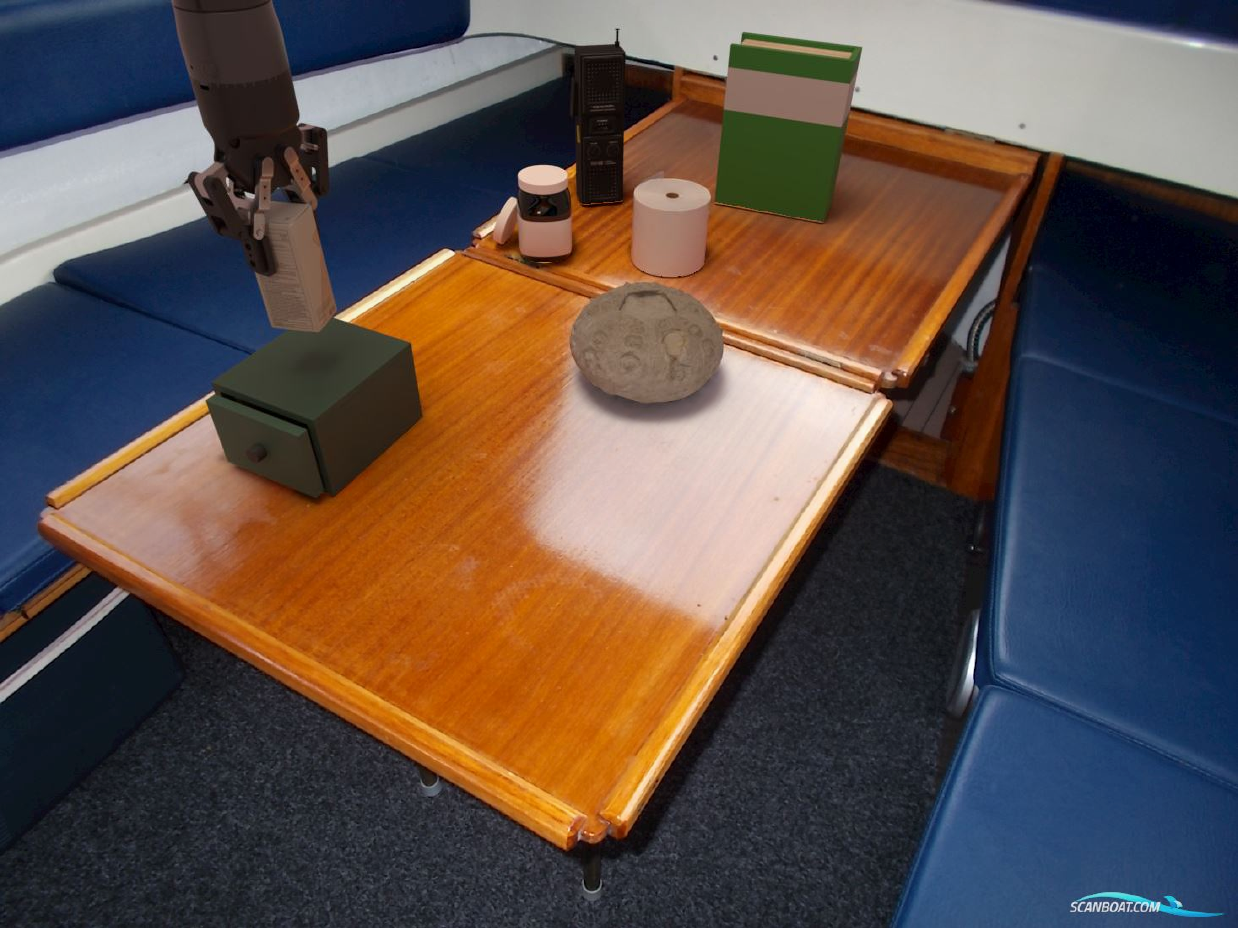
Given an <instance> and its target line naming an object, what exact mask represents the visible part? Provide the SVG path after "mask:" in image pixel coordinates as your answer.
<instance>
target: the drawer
mask: <svg viewBox="0 0 1238 928" xmlns="http://www.w3.org/2000/svg"><path fill="white" fill-rule="evenodd" d="M235 400H236V402H234V401H231V400H229V399H226V398H223V397H221V396H218V395H216V394H215V393H214V394H213V395H211V396H209V397H208V398H207V399H205V404H206V407H207V409H208V412H209V414H210V417H211V420H212V423H213V426H214V428H215V431H216V434H217V436H218V439H219V442H220V445H221V447H222V450H223V453H224V455H225V459H226V461H227V463H229V464H232V465H235V466H237V467H239V468H242V469H244V470H246V471H249V472H251V473H254V474H256V475H259V476H260V477H264V478H266V479H268V480H271V481H273V482H275V483H278V484H280V485H283V486H285V487H287V488H290V489H292V490H295V491H297V492H299V493H302V494H305V495H307V496H309V497H312V498H314V499H317V498H318V497H319V496H321V494H323V492H324V489H323V485H322V481H321V478H320V475H322V474H321V470H320V466H319V463H318V459H317V456H316V452H315V448H314V445H313V441H312V437H311V434H310V430H309V427H308V425H307V424H304V423H301V422H299V421H296V420H294V419H291V418H288V417H286V416H283V415H280V414H278V413H275V412H273V411H270V410H267V409H265V408H262V407H259V406H257V405H254V404H251V403H249V402H246V401H244V400H241V399H238V398H236V397H235Z"/></svg>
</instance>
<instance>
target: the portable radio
mask: <svg viewBox="0 0 1238 928" xmlns="http://www.w3.org/2000/svg"><path fill="white" fill-rule="evenodd" d="M614 30H615V33H616V34H615V41H614V43H609V44H607V43H606V44H588V45H575V46H574V58H573V59H574V60H573V61H574V64H573V65H574V76H571V81H570V82H571V83H570V102H569V103H570V104H569V105H570V106H569V116H570V117H571V119H572V120H574V121H575V125H574V126H575V188H576V189H575V191H576V193H577V194H576V193H575V194H576V197H577V196H578V197H577V199H578V198H579V199H580V201H581V203H582V204H591V203H603V202H615V201H621V200H623V201H624V155H625V154H624V153H625V152H624V149H625V148H624V147H625V145H624V144H625V103H626V101H625V100H626V99H625V98H626V68H627V67H626V63H627V62H626V61H627V54H626V53H627V52H626V51H625V49H624V48H623V47H622V46H621V44H620V43H621V42H620V41H619V31H620V30H621V29H620V28H614ZM574 118H575V119H574ZM579 199H578V200H579ZM580 201H579V202H580ZM581 203H580V204H581Z"/></svg>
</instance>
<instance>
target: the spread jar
mask: <svg viewBox="0 0 1238 928" xmlns="http://www.w3.org/2000/svg"><path fill="white" fill-rule="evenodd" d="M568 176H569V175H568V171H566V170H564V169H563V168H562V167H559V166H555V165H551V164H550V165H548V164H538V165H531V166H528V167H525V168H523V169H521V170H520V171H519V172H518V174H517V180H518V181H517V182H518V189H517V191H516V197H514V196H511V197H509V198H508V200H507V201H506V202H505V204H504V205H503V207H502V208H501V211H500V212H499V215H498V217H497V219H496V221H495V225H494V228H493V233H492V240H493V242H496V243H498V244H500V245H502V244H503V245H505V244H504V242H505V241H506V240H507V239H508V238H509V239H510V238H511V236H512V234H513V232H514V231H515V229H516V226H517V238H518V248H519V252H520V255H521V256H522V257H523V259H525V260H526V261H529V262H532V261H533V262H532V263H535V262H555V263H557V262H556V261H559V262H561V261H560V260H562V261H563V259H564V260H565V259H567V258H569V257H570V256H571V254H572V251H573V250H572V249H573V224H572V223H573V218H572V217H573V216H572V215H573V207H572V198H571V192H570V189H569V187H568V186H569V177H568ZM510 235H511V236H510ZM509 239H508V240H509ZM508 240H507V241H508Z"/></svg>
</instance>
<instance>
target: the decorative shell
mask: <svg viewBox="0 0 1238 928" xmlns="http://www.w3.org/2000/svg"><path fill="white" fill-rule="evenodd" d="M723 334H724V328H723V327H721V326H720V325H718V324H717V319H715V317H714V315H713V313H712V312H711V311H709V309H708V308H707V307H705V306H704V305H703V303H702V302H701V300H699V299H697V298H696V297H694V296H692V294H690V293H687V292H686V291H684V290H681V289H677V288H675V287H672V286H667V285H665V284H660V283H658V281H656V280H655V281H654V282H650V281H642V282H641V281H637V282H634V283H633V282H632V283H630V282H629V281H625V282H624V284H623V285H619V286H616V287H615V288H612V289H609V290H608V291H606V292H602V293H600V294H599V295H597V297H593V296H592V297H591V296H590V300H589V303H587V304H586V305H585V306H584V307H583V308H582V309H581V311H580V312H579V314H578V316H577V317H576V319H575V320H574V322H573V324H572V326H571V330H570V333H569V349H570V352H571V356H572V358H573V360H574V363H575V364H576V366H577V367H578V369H579V370H580V371H581V372H582V374H583V375H584V377H585V378H586V379H587V380H588V382H590V383H591V384H592V385H594V386H595V387H597V388H598V389H600V390H601V391H603V392H605V393H606V394H608V395H616V396H618V397H622V398H625V399H628V400H631V401H634V402H637V403H640V404H647V405H648V404H653V403H668V402H671V401H672V402H673V401H678V400H683V399H684V398H685V399H686V398H687V397H689V396H691V395H692V394H694V393H695V392H697V391H699V390H700V389H701V388H702V387H703V386H704V385H705V384H706V383H707V382H708V381H709V380H710V378H712V377H713V376H714V375H715V373H716V372H717V371H718V368H719V366H720V365H721V362H722V360H723V356H724V352H725V351H724V350H725V349H724V348H725V346H724V343H725V341H724V339H723Z"/></svg>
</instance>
